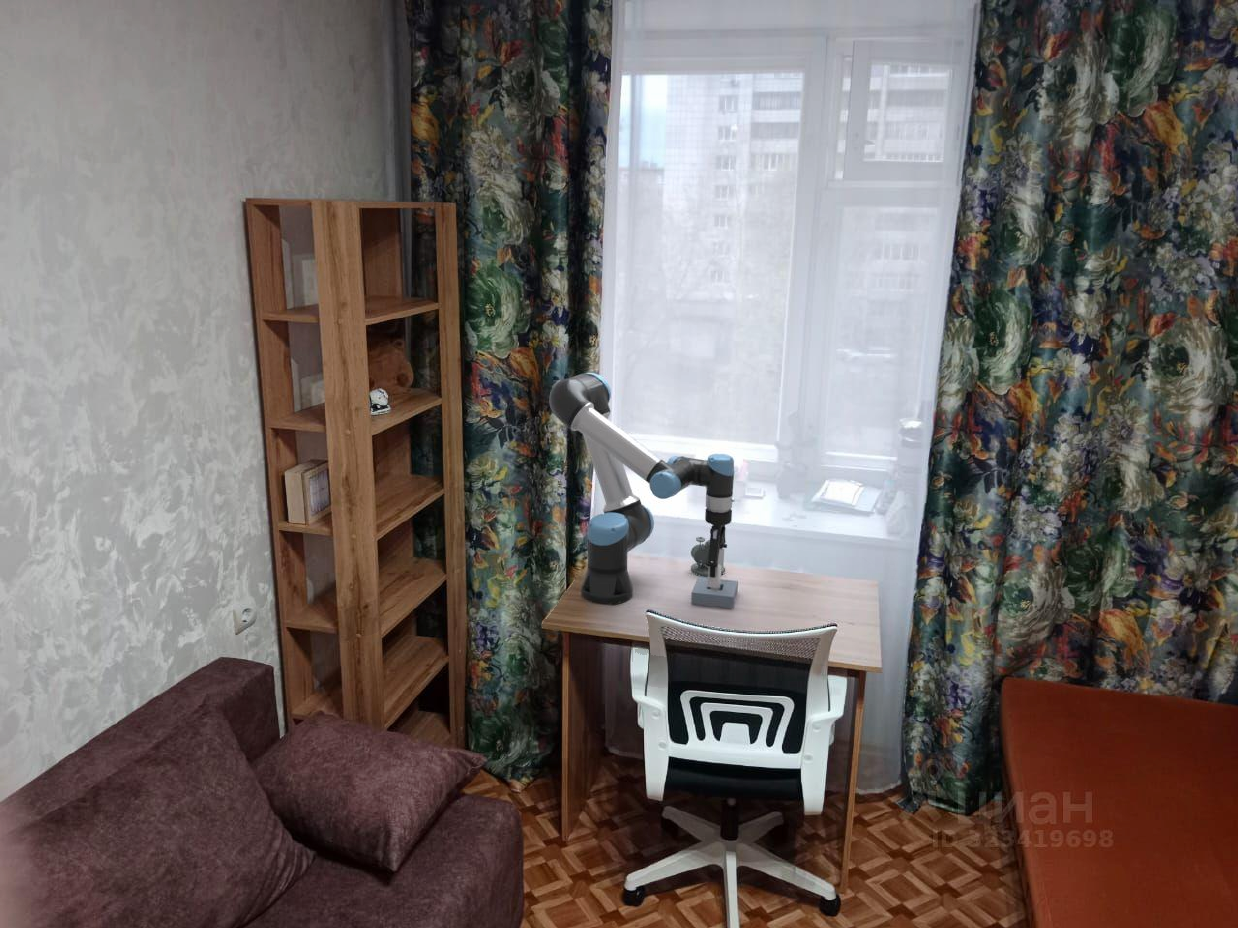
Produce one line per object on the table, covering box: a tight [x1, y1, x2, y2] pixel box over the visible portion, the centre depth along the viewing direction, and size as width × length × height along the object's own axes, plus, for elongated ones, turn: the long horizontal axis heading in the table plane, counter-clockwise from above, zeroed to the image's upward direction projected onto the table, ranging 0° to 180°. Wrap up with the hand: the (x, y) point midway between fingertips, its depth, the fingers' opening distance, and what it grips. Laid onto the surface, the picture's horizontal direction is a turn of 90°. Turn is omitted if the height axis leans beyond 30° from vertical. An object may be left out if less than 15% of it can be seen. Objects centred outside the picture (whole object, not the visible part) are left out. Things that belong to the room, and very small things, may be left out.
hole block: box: [690, 576, 739, 609], centre depth 269 cm, size 12×12×4 cm
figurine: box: [690, 536, 726, 578], centre depth 288 cm, size 11×11×12 cm
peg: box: [710, 564, 722, 590], centre depth 268 cm, size 3×3×10 cm
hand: (715, 577), depth 268 cm, fingers open, 13 cm apart
